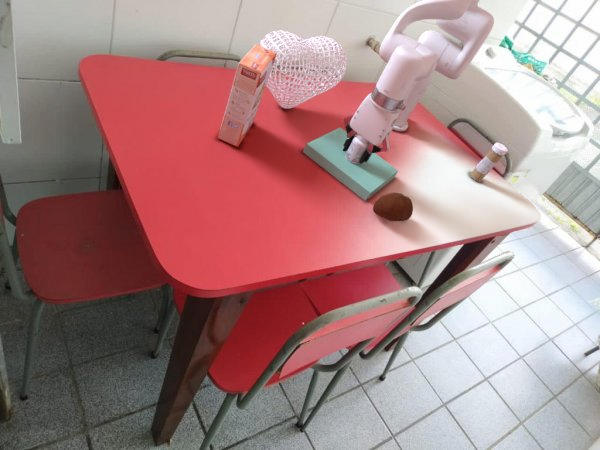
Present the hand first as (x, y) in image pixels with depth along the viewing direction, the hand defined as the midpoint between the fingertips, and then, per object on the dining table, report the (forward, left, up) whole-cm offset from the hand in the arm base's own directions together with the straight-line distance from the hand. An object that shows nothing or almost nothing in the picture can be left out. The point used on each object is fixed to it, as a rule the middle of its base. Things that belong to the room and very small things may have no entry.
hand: (354, 155), depth 112 cm
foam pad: (-1, 0, -4) cm, 4 cm away
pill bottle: (0, 0, -1) cm, 1 cm away
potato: (+8, +18, -4) cm, 20 cm away
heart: (-5, -28, -4) cm, 29 cm away
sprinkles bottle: (-43, +29, -4) cm, 52 cm away
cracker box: (+19, -26, -4) cm, 32 cm away
